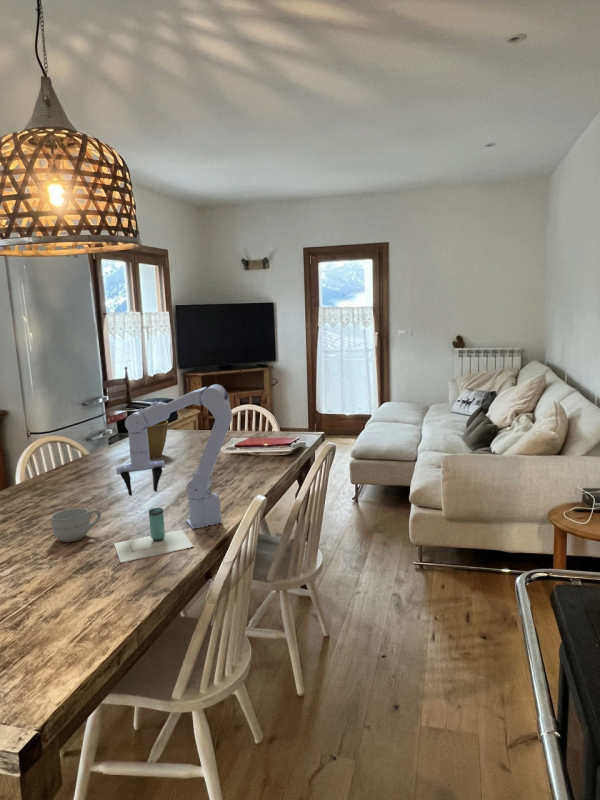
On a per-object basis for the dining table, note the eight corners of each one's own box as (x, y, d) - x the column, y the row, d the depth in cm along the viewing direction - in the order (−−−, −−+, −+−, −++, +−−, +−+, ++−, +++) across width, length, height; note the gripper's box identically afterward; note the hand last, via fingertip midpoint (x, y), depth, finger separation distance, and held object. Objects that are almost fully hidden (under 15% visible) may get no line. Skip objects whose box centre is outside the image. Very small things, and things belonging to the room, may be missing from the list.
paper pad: (182, 530, 170) (182, 529, 170) (193, 547, 158) (193, 546, 158) (113, 544, 162) (113, 543, 162) (120, 563, 150) (120, 561, 150)
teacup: (50, 547, 161) (47, 521, 160) (55, 533, 171) (52, 509, 170) (101, 540, 165) (98, 515, 164) (103, 527, 175) (101, 503, 174)
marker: (163, 535, 166) (161, 506, 165) (166, 540, 163) (164, 511, 161) (149, 538, 164) (147, 509, 163) (152, 543, 161) (150, 513, 159)
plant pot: (131, 459, 257) (128, 425, 254) (148, 451, 271) (146, 418, 268) (159, 460, 252) (156, 426, 250) (176, 452, 266) (173, 419, 264)
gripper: (160, 444, 179) (163, 485, 181) (113, 451, 173) (117, 493, 175) (165, 449, 173) (168, 491, 175) (116, 456, 167) (120, 499, 169)
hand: (143, 492), depth 175 cm, fingers open, 7 cm apart
